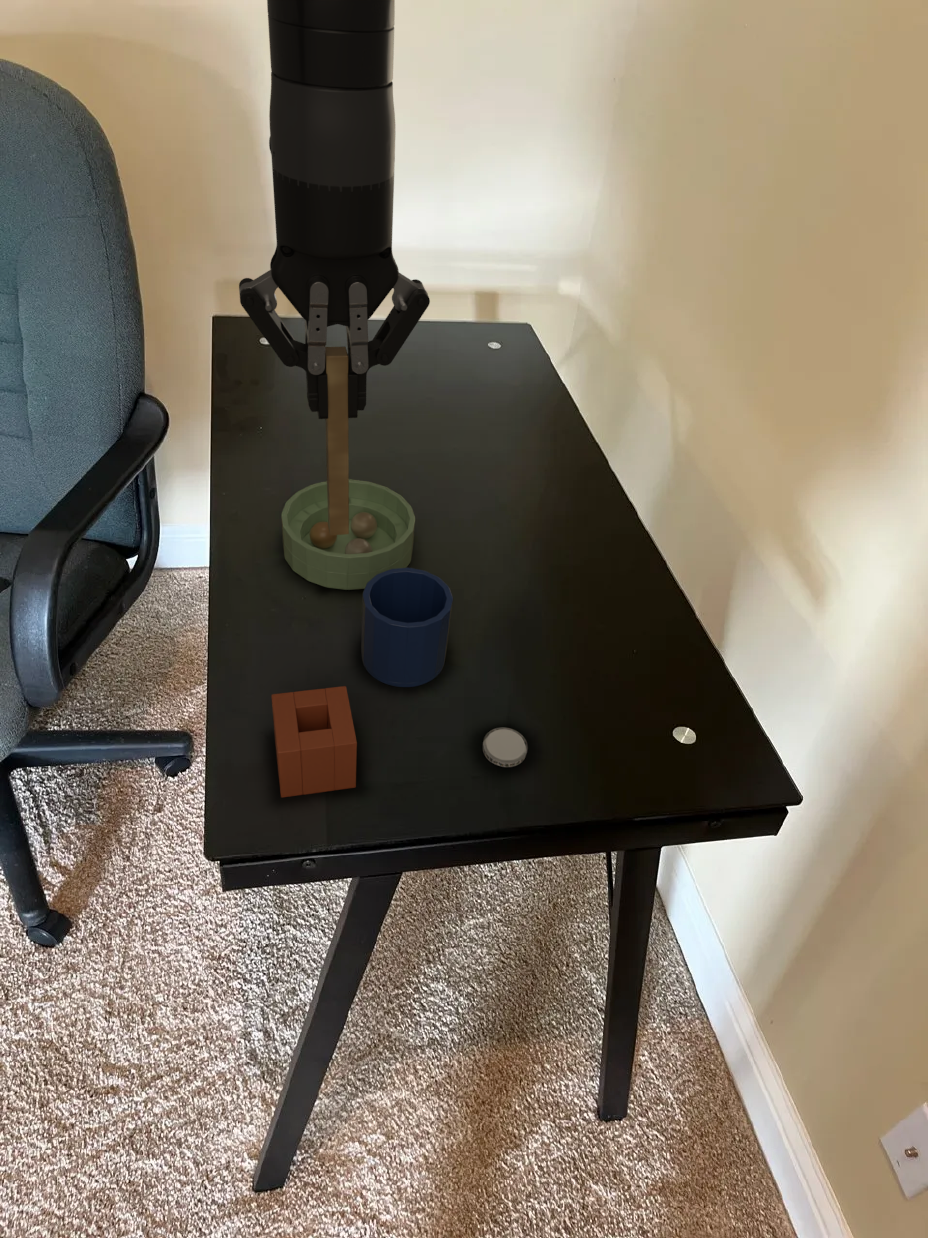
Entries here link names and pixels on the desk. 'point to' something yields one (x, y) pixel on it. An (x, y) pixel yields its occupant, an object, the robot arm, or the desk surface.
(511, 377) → the desk surface
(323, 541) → the bead
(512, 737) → the grey bottle cap
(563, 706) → the desk surface
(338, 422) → the stick
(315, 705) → the holder
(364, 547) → the bead
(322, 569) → the bowl
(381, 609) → the crock
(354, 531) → the bead
